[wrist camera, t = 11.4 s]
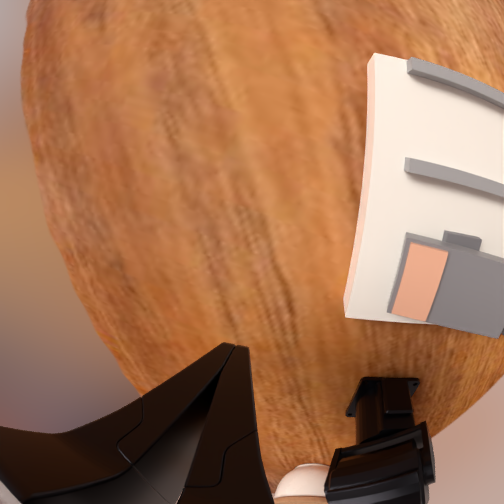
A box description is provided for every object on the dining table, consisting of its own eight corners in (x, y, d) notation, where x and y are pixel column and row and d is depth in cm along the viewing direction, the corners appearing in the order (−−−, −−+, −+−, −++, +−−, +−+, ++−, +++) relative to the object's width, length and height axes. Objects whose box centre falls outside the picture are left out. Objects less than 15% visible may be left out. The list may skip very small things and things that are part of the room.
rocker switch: (494, 328, 12) (499, 341, 11) (387, 303, 16) (386, 314, 15) (520, 263, 10) (528, 272, 9) (405, 231, 14) (406, 238, 13)
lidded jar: (267, 462, 33) (254, 510, 25) (329, 452, 29) (322, 508, 20) (300, 481, 35) (291, 523, 27) (355, 472, 31) (351, 518, 22)
